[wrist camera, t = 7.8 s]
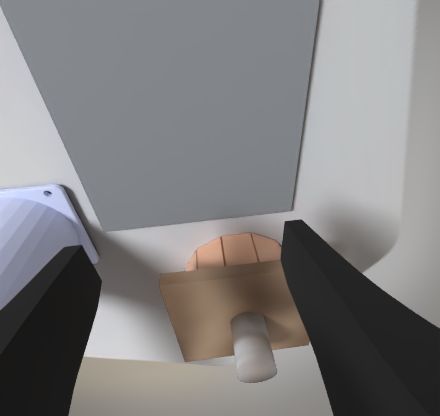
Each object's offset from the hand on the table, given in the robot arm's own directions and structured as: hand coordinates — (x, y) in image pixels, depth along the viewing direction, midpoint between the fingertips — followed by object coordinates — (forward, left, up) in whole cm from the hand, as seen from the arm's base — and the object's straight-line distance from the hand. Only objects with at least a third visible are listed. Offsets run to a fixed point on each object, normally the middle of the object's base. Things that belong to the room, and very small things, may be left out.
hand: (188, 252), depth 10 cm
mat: (0, +1, -10) cm, 10 cm away
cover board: (+3, -14, -5) cm, 15 cm away
